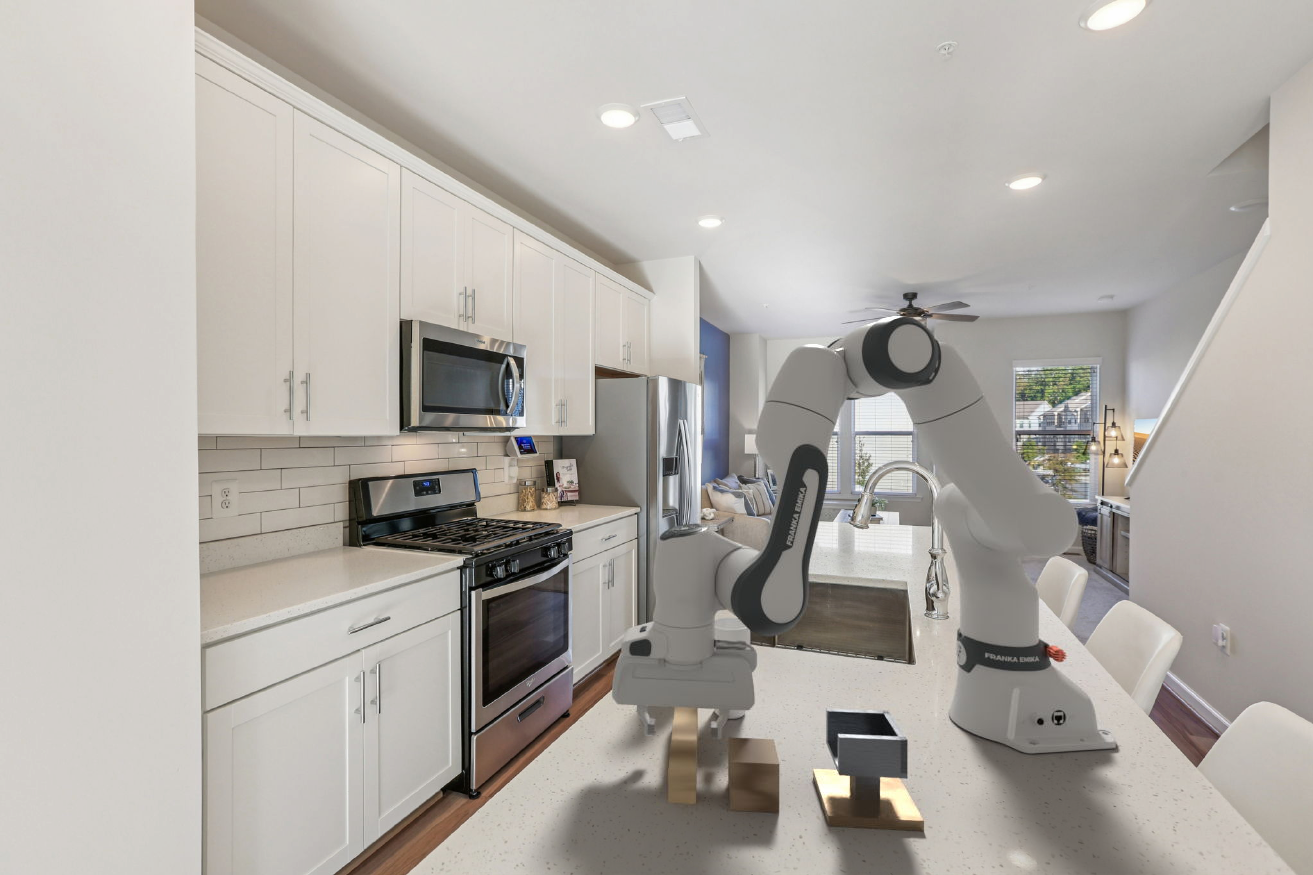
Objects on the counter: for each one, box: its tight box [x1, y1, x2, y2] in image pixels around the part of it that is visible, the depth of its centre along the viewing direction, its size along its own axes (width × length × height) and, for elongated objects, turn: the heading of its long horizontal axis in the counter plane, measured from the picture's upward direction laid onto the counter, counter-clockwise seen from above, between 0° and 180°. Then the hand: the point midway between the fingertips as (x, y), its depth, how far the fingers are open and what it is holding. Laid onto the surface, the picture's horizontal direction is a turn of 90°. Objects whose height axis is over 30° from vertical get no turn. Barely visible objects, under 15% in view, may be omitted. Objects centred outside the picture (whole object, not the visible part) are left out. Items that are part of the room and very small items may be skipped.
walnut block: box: [727, 736, 780, 814], centre depth 76 cm, size 6×6×6 cm
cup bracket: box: [812, 708, 925, 832], centre depth 75 cm, size 11×10×10 cm
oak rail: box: [667, 707, 699, 805], centre depth 85 cm, size 20×4×4 cm, turn 175°
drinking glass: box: [713, 617, 751, 720], centre depth 99 cm, size 7×7×15 cm
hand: (682, 735), depth 85 cm, fingers open, 8 cm apart
